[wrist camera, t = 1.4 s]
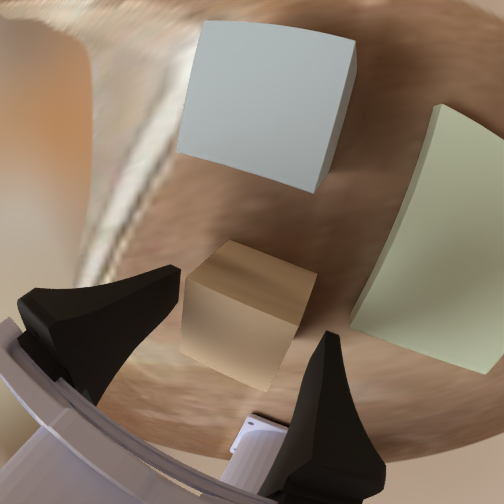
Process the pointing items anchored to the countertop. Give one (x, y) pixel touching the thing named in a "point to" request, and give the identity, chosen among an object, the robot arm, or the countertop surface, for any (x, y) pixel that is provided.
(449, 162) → the baseplate
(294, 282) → the oak brick
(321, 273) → the countertop surface
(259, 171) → the slate brick
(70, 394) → the robot arm
